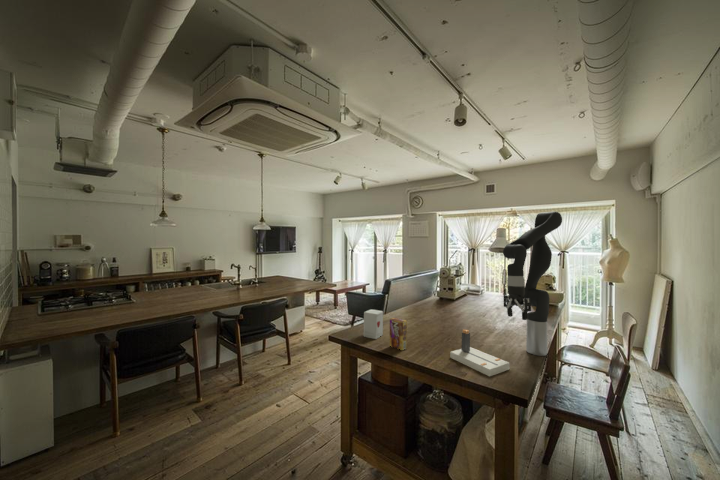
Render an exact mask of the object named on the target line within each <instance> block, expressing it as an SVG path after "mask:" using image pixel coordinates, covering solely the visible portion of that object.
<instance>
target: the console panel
mask: <svg viewBox="0 0 720 480" xmlns="http://www.w3.org/2000/svg"><path fill="white" fill-rule="evenodd" d="M449 354H450V355H449V356H450V357H449V358H450V359H453V360H454V361H457V362H458V363H461V364H463V365H464V366H466V367H469V368H471V369H473V370H475V371H477V372H479V373H481V374H483V375H486V376H488V377H493V376H495V375H497V374H501V373H503V372H506V371H509V370H510V368H511V367H510V362H509V361H507V360H504V359H501V358H499V357H497V356H494V355H491V354H489V353H486V352H484V351H482V350H479V349H476V348H473V347H471V346H470V351H469V352H464V351H462V348H459V349H455V350H451V351H450V353H449Z"/></svg>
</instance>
